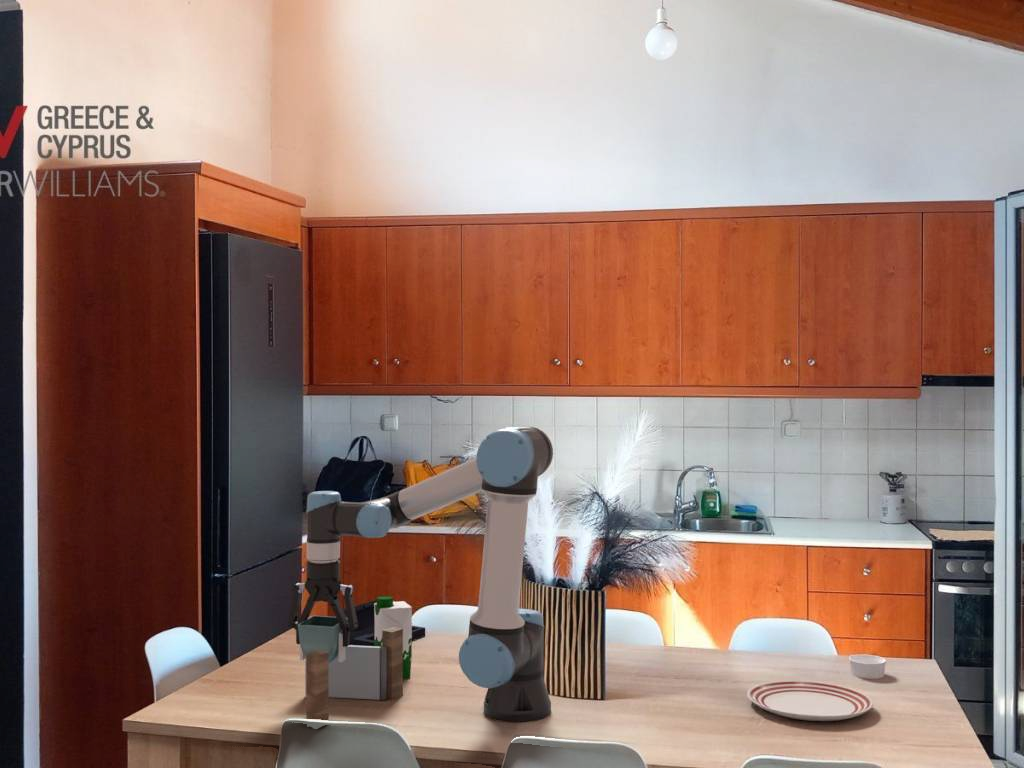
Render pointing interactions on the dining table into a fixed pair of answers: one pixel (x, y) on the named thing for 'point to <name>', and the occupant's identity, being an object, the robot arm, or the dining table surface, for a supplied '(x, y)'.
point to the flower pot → (320, 635)
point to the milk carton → (395, 625)
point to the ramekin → (867, 666)
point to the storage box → (371, 626)
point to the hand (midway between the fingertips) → (322, 659)
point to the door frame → (320, 674)
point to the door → (359, 673)
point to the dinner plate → (810, 700)
